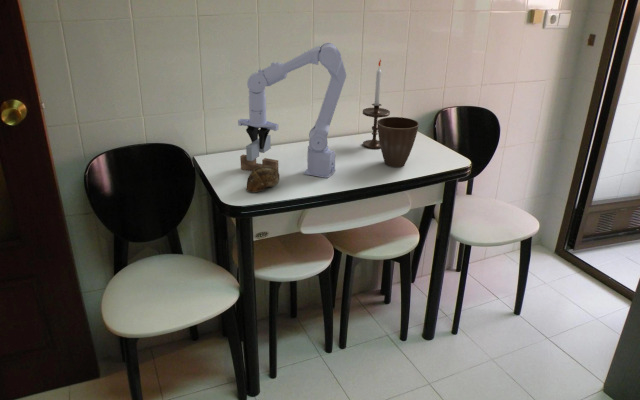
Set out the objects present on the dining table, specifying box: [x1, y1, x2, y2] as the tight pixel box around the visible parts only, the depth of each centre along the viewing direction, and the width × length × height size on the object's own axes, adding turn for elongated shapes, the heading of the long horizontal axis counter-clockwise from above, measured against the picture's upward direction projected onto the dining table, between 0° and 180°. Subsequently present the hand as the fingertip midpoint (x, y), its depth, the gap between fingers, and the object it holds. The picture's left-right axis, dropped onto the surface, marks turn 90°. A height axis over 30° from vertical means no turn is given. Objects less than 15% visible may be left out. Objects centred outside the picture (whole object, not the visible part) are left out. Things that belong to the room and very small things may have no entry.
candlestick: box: [362, 59, 391, 150], centre depth 203 cm, size 11×11×35 cm
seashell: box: [245, 165, 281, 193], centre depth 167 cm, size 11×9×8 cm
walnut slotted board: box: [239, 154, 280, 174], centre depth 181 cm, size 14×2×5 cm, turn 68°
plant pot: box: [377, 116, 420, 168], centre depth 189 cm, size 15×15×16 cm
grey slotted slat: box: [245, 134, 272, 161], centre depth 178 cm, size 14×2×5 cm, turn 158°
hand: (258, 147), depth 178 cm, fingers closed on grey slotted slat, 2 cm apart
